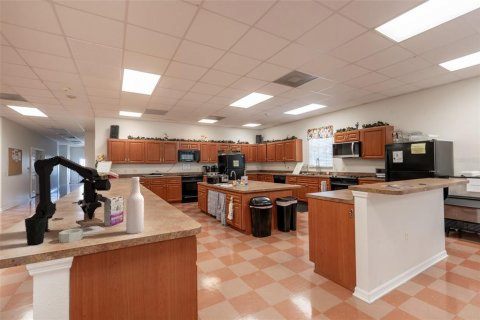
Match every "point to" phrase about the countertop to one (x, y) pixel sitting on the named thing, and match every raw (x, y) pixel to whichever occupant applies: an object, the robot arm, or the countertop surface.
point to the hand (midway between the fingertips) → (89, 218)
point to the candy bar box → (113, 211)
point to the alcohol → (135, 209)
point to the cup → (35, 230)
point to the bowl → (70, 235)
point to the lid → (88, 220)
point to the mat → (92, 229)
